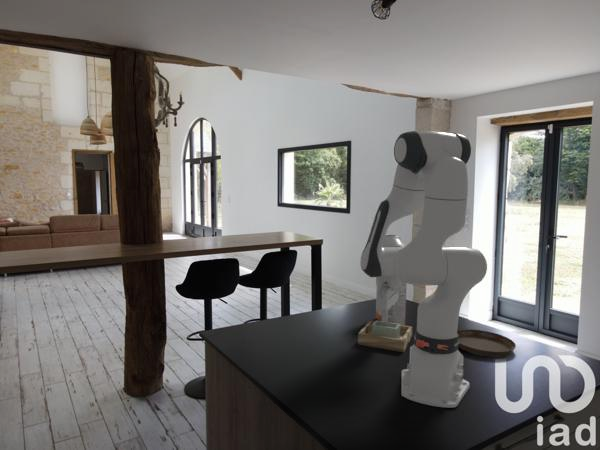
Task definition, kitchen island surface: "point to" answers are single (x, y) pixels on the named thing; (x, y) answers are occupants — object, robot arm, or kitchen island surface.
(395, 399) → the kitchen island surface
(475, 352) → the plant saucer
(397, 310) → the cracker box
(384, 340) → the big crate
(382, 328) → the box
